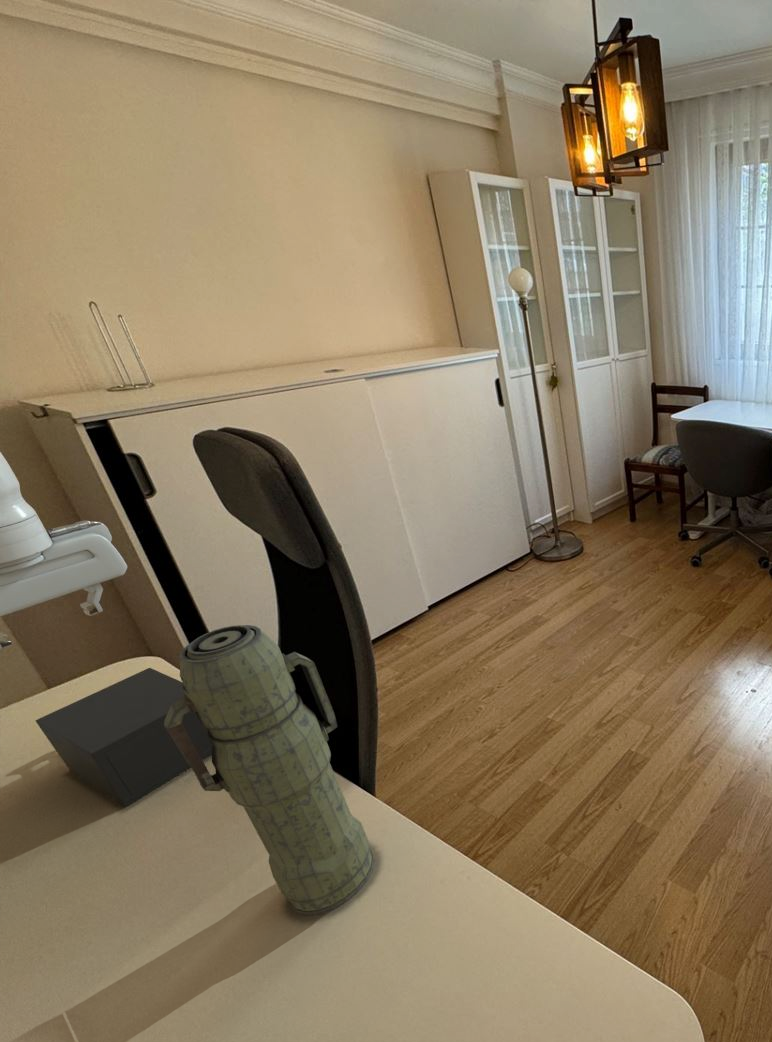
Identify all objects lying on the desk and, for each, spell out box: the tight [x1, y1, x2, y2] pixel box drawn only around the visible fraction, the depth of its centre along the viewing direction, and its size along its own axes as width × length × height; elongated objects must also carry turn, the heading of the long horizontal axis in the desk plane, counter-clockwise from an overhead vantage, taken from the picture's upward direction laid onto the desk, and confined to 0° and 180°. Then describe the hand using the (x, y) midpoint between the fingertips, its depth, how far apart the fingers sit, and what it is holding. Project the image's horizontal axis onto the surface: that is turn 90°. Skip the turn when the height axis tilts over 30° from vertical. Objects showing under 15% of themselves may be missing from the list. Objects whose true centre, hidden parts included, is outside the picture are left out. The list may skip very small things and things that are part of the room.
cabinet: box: [35, 667, 212, 808], centre depth 83 cm, size 16×13×10 cm
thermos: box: [164, 624, 375, 916], centre depth 60 cm, size 9×12×35 cm
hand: (51, 629), depth 80 cm, fingers open, 8 cm apart
